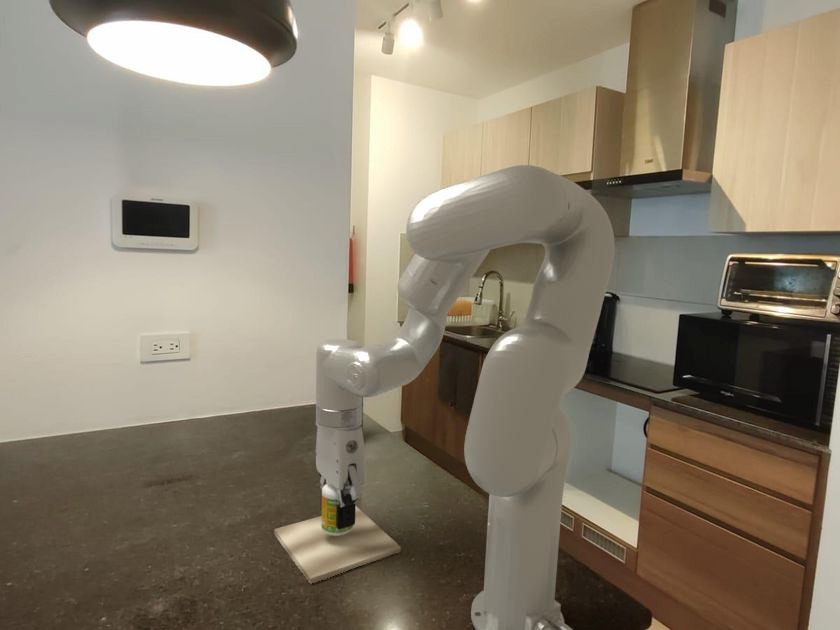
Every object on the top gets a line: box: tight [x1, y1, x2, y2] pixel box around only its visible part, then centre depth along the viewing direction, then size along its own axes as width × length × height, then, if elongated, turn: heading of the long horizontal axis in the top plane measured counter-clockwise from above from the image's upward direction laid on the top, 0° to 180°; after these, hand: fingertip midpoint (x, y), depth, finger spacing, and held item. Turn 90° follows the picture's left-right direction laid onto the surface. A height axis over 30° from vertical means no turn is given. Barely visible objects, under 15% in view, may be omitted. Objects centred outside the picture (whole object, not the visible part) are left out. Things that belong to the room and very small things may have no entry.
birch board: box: [273, 505, 402, 585], centre depth 88 cm, size 16×16×1 cm
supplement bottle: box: [321, 480, 353, 536], centre depth 87 cm, size 5×5×10 cm
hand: (337, 517), depth 88 cm, fingers closed on supplement bottle, 5 cm apart
